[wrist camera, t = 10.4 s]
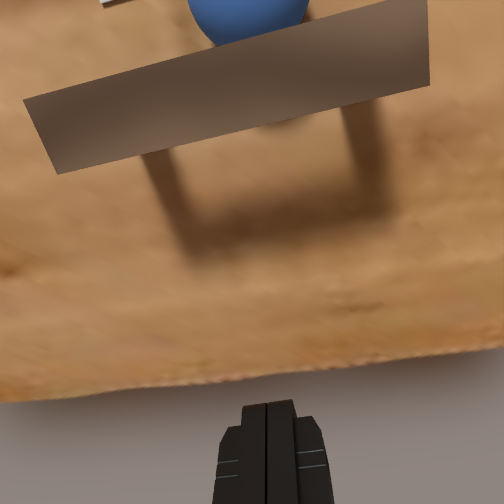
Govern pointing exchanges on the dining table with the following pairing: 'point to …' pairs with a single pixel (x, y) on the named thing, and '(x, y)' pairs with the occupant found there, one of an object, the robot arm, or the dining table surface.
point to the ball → (245, 17)
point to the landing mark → (104, 0)
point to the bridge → (237, 86)
